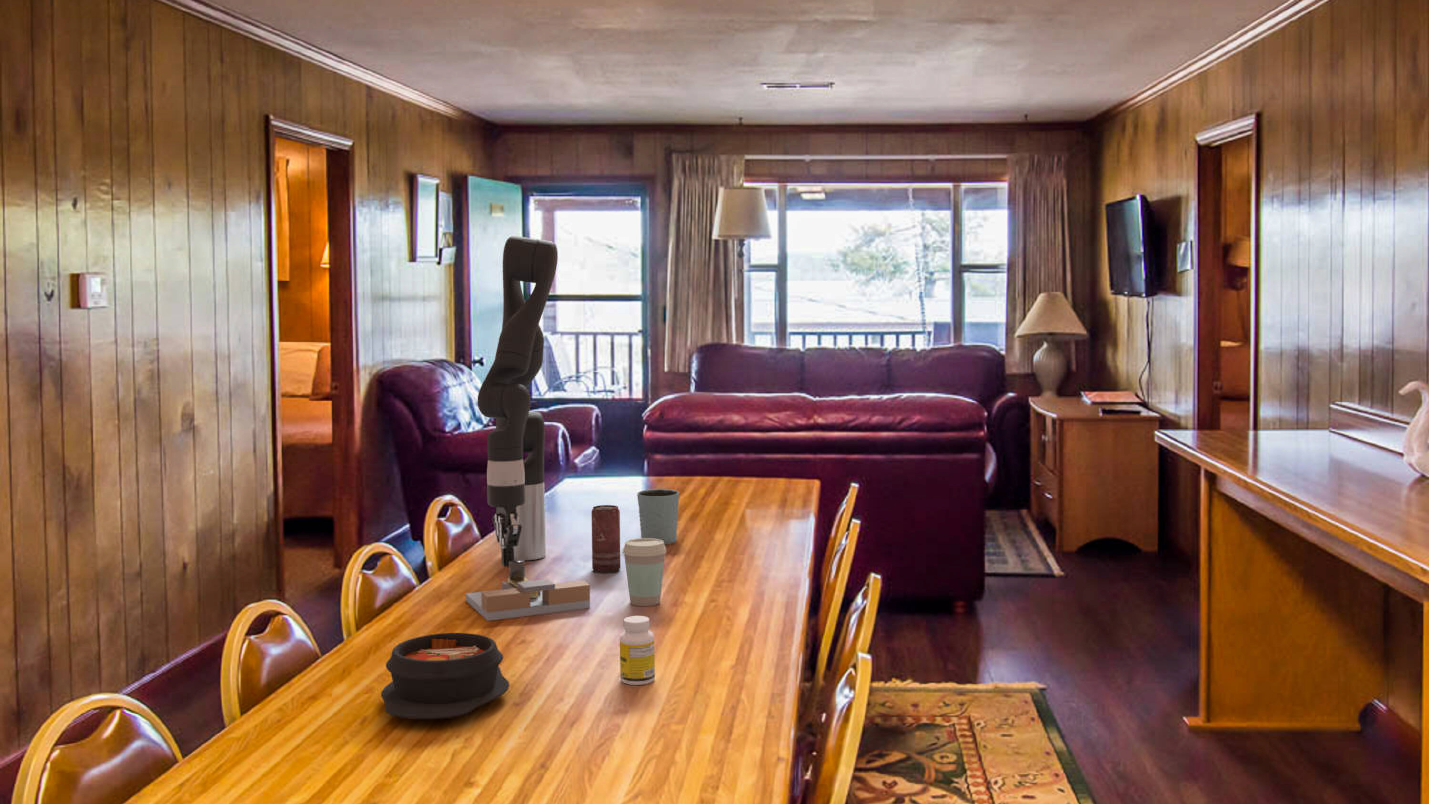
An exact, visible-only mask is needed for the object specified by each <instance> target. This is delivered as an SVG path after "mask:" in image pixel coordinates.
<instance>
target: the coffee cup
mask: <svg viewBox="0 0 1429 804" xmlns="http://www.w3.org/2000/svg"><path fill="white" fill-rule="evenodd" d="M666 553H667V547H666V544H664V542H663V541H662V540H659V539H652V538H641V537H640V538H634V539H633V538H632V539H629V540H627V541H625V543H624V547H622V554H623V555H624V562H625V572H626V578H627V579H626V580H627V588H628V595H629V603H630V604H631V605H632V606H636V607H652V606H653V607H654V606H657V605H659V604H660V603H661V598H662V596H661V595H662V587H663V577H664V568H665V567H664V566H665V559H666V558H665V556H666Z"/></svg>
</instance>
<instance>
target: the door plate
mask: <svg viewBox="0 0 1429 804" xmlns="http://www.w3.org/2000/svg"><path fill="white" fill-rule="evenodd" d="M527 579H528V580H529V581H527V582H518V583H517V588H514V587H512V586H511V585H510V584H509V583H507V581H502V582H501V589H495V590H487V591H486V590H484V591H476V592H468V593H467V592H465V602H467V603H468V604H469V605H470V606H471V607H472V608H473V609H474V610H475V611H477V613H478V614H479V615H480V616H482V617H483V618H484V619H485V620H486V621H489V622H490V621H495V620H496V621H497V620H505V619H512V618H514V619H515V618H521V617H528V616H529V617H531V616H537V615H544V614H545V615H546V614H552V613H560V612H561V613H562V612H568V611H569V612H570V611H576V610H577V611H578V610H584V609H585V610H586V609H590V608H591V596H590V595H591V590H590V589H591V588H590V587H591V586H590V584H589V583H588V582H586V581H584V580H576V581H567V582H555V583H554V582H553V581H551V580H550V579H547V578H544V579H537V580H530V579H529V578H527ZM536 591H538V597H536V598H530V592H536Z"/></svg>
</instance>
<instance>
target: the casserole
mask: <svg viewBox="0 0 1429 804" xmlns="http://www.w3.org/2000/svg"><path fill="white" fill-rule="evenodd" d="M503 659H504V655H503V653H502V652H501V651H500V650H499V648H498V645H497V643H496V641H495V640H494V639H492V638H491V637H490V636H486V635H481V634H477V633H476V634H475V633H467V632H466V633H465V632H447V633H436V634H434V633H433V634H428V635H423V636H418V637H414V638H411V639H407V640H404V641H402V642H400V643H399V644H397V645H395V646H394V648H392V652H391V655H390V658H389V659H388V660H387V662H386V663H385V667H386V670H387V671H388V672H389V673H390V674H391V678H392V681H391V682H390V683H388V684H387V685H385V686H384V688H383V689H382V691H381V693H380V697H381V699H382V701H384V703H385V707H384V709H385V713H387V714H389V715H390V716H392V717H395V718H396V717H397V718H400V719H401V718H403V719H409V720H439V719H440V720H442V719H450V718H451V719H452V718H456V717H461V716H463V715H467V714H468V713H470V712H472V711H473V710H475V709H477V708H478V707H480V706H483V705H485V704H487V703H490V702H492V701H494V700H497V699H498V698H500V697H501V696H503V695H505V694H506V692H508V690H509V687H510V683H509V681H508V679H507V678H506V677H505V676H504V675H503V673H502V670H501V668H500V667H499V665H501V663H502V662H503Z"/></svg>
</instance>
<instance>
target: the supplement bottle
mask: <svg viewBox="0 0 1429 804" xmlns="http://www.w3.org/2000/svg"><path fill="white" fill-rule="evenodd" d="M650 626H651V625H650V618H649V617H648V616H645V615H632V616H627V617H625V618H624V619H623V629H624V630H625V631H623V632H622V633H621V634H620V635H619V665H620V667H619V669H620V670H619V673H620V674H619V675H620V681H621V682H622V683H624V684H625V685H628V686H629V685H630V686H643V685H648V684H651V683H652V682H654V681H655V678H656V677H655V676H656V663H655V662H656V661H655V659H656V658H655V657H656V655H655V635H654V633H653V632H652V631H651V630H649V629H650Z"/></svg>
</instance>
